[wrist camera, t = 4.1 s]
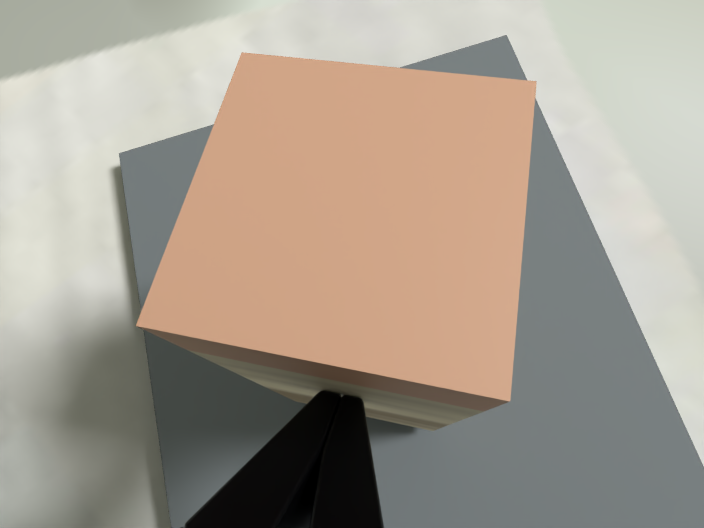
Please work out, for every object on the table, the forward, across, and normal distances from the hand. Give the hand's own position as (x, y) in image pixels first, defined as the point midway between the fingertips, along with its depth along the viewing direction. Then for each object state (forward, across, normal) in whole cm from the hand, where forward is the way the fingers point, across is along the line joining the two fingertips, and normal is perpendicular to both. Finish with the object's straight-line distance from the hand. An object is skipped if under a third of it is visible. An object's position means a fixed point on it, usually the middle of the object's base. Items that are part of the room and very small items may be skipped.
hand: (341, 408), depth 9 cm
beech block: (+6, 0, +3) cm, 7 cm away
